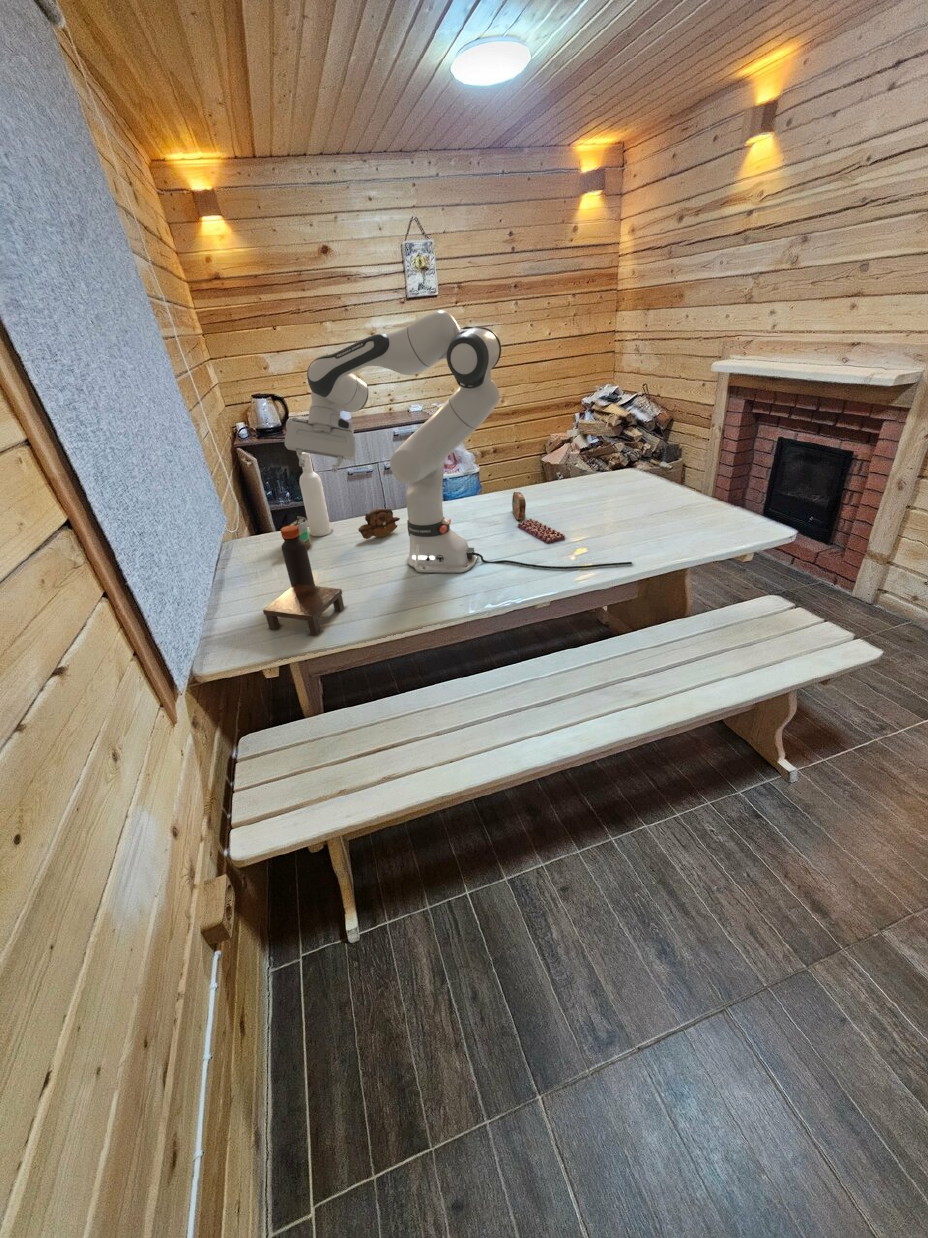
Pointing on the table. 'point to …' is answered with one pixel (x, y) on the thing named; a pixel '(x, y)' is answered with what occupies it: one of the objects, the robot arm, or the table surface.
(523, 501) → the tin
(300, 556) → the vinegar
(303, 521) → the food container
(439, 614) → the table surface
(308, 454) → the bottle
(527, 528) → the chocolate bar
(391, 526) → the wooden carving
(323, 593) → the stand
